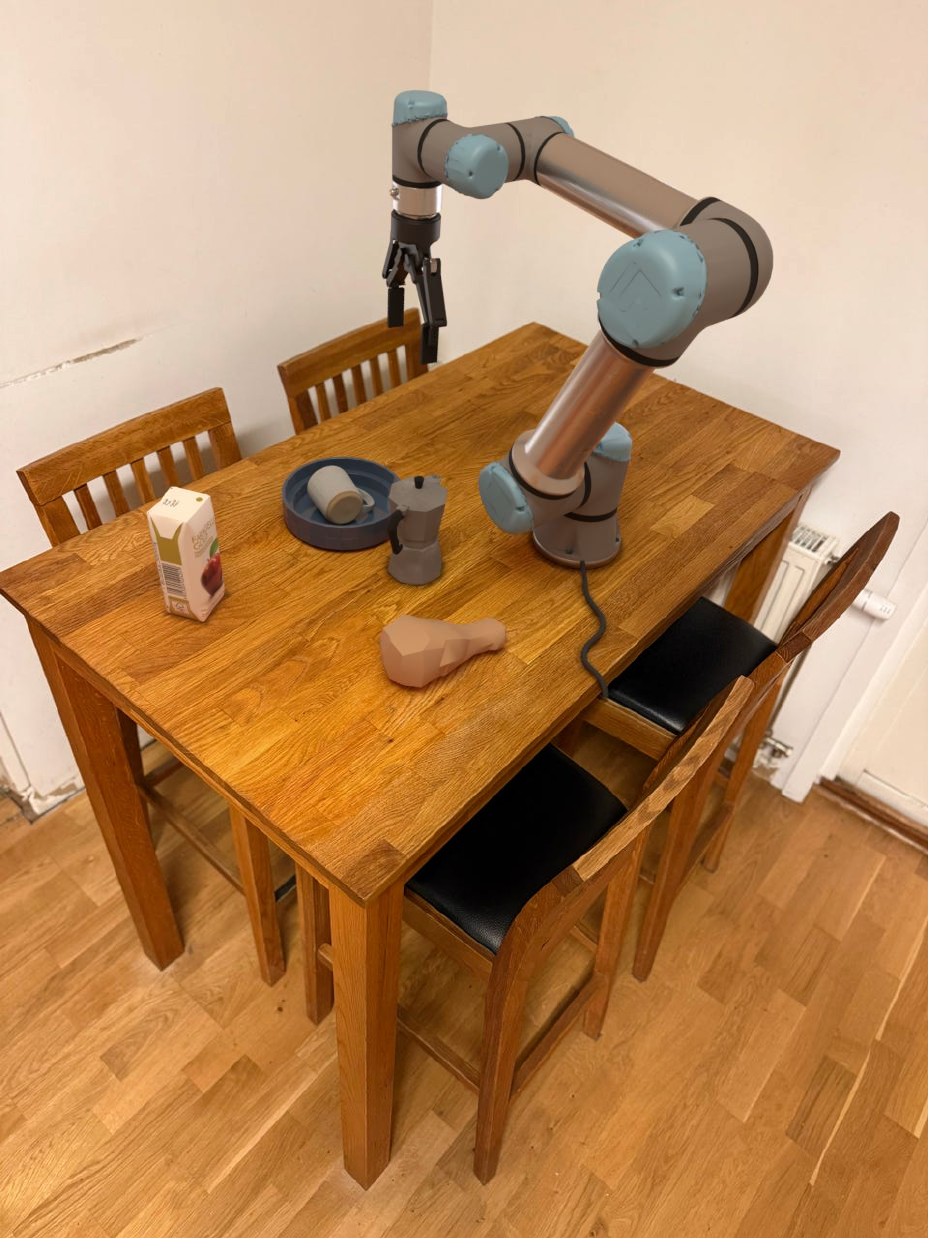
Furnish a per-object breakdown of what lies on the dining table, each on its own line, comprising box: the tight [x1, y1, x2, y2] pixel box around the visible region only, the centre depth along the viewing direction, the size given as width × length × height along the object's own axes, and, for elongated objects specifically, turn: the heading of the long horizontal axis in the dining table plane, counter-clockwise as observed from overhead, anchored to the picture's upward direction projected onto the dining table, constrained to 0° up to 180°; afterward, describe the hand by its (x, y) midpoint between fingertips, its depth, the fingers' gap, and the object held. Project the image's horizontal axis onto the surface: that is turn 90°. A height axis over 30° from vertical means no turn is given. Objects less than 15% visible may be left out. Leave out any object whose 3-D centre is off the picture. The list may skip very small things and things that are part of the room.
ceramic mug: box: [307, 466, 374, 525], centre depth 152 cm, size 11×8×8 cm
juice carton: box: [146, 486, 225, 623], centre depth 130 cm, size 8×9×19 cm
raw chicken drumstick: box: [378, 613, 507, 688], centre depth 129 cm, size 11×20×9 cm, turn 121°
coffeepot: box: [387, 473, 448, 586], centre depth 140 cm, size 15×9×18 cm, turn 153°
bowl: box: [281, 456, 401, 551], centre depth 153 cm, size 21×21×6 cm
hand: (411, 343), depth 147 cm, fingers open, 13 cm apart
